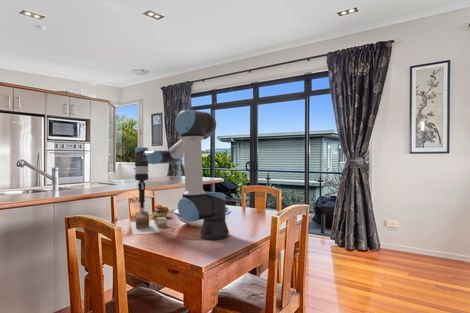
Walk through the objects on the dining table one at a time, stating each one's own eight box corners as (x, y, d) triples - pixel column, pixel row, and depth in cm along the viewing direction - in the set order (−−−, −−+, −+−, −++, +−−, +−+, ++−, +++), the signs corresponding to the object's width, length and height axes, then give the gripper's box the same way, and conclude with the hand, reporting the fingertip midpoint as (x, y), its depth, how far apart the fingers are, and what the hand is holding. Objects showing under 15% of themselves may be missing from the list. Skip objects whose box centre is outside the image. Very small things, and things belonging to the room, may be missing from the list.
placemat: (159, 232, 164) (159, 232, 164) (132, 235, 159) (132, 234, 159) (153, 220, 194) (153, 220, 194) (130, 222, 188) (130, 222, 188)
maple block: (166, 226, 177) (167, 218, 177) (158, 227, 174) (158, 219, 174) (163, 225, 181) (163, 216, 181) (155, 225, 178) (155, 217, 179)
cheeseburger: (148, 218, 201) (151, 203, 203) (162, 219, 208) (164, 205, 210) (155, 220, 194) (158, 204, 196) (169, 221, 201) (172, 207, 202)
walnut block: (147, 221, 180) (148, 227, 174) (135, 222, 178) (136, 228, 171) (148, 211, 178) (149, 216, 172) (135, 212, 176) (136, 217, 169)
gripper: (134, 172, 182) (134, 211, 183) (135, 174, 170) (135, 215, 171) (147, 172, 185) (147, 210, 185) (149, 173, 173) (149, 214, 173)
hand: (141, 212), depth 178 cm, fingers closed
